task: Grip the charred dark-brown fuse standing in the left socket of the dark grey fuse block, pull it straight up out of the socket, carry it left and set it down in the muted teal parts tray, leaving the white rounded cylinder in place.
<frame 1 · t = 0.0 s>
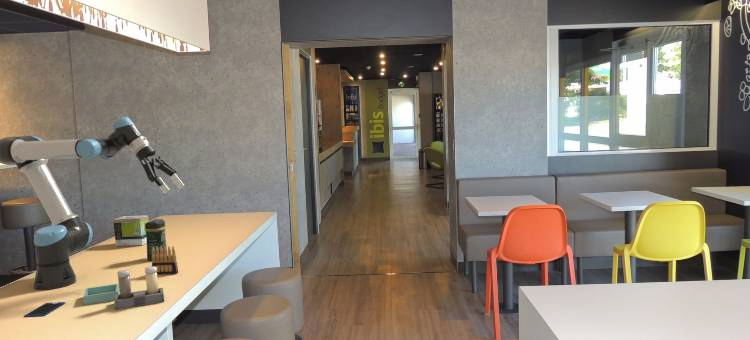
hand: (174, 189, 234), 36 cm above the table, tool tilted 35°, fingers open, 13 cm apart
cell phone: (45, 311, 198), on the table
coffee jar: (157, 258, 266), on the table
ammunition clip: (165, 274, 238), on the table
fuse block: (140, 302, 201), on the table
tea box: (133, 244, 300), on the table
blown fuse: (126, 304, 200), resting in fuse block
white rounded cylinder: (153, 300, 203), resting in fuse block
parts tray: (102, 298, 208), on the table
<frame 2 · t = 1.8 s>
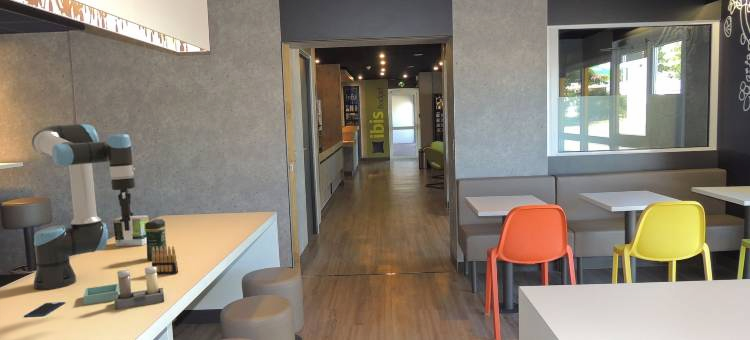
hand: (128, 237, 200), 24 cm above the table, tool pointing down, fingers open, 13 cm apart
nothing on the table moved.
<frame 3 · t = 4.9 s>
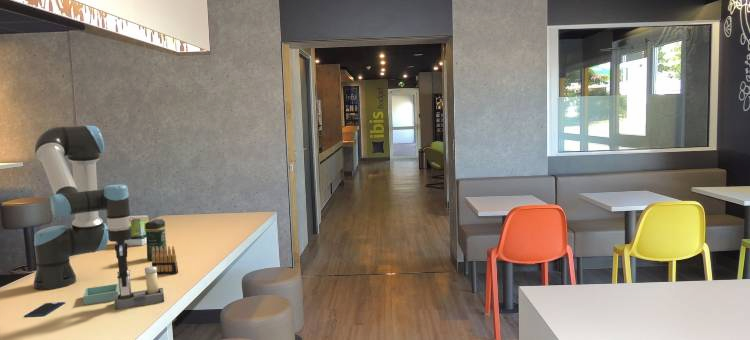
hand: (125, 293, 199), 4 cm above the table, tool pointing down, fingers closed on blown fuse, 4 cm apart
blown fuse: (126, 304, 200), resting in fuse block, touching gripper
everything else where it was.
when the fingers open (6 cm above the table, at t = 10.5 s): blown fuse drops 1 cm, resting on parts tray.
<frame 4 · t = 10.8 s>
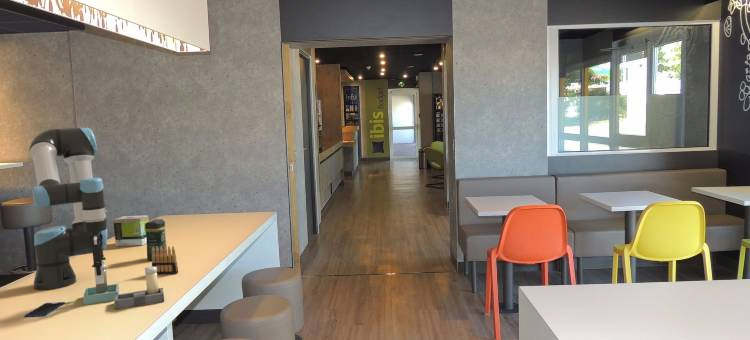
hand: (100, 280, 208), 7 cm above the table, tool pointing down, fingers open, 7 cm apart
blown fuse: (102, 296, 208), point 1 cm above the table, touching parts tray
everything else where it was.
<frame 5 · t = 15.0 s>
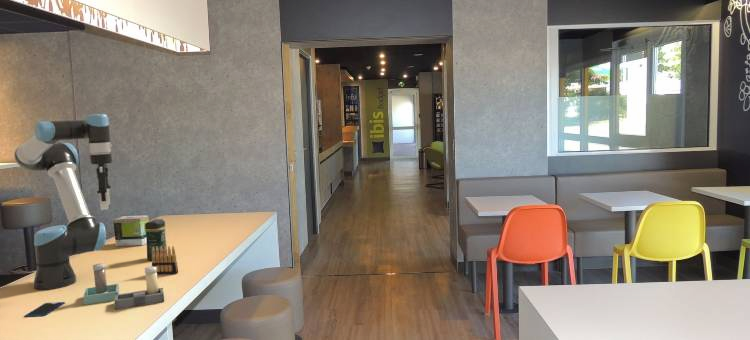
hand: (105, 207, 221), 32 cm above the table, tool pointing down, fingers open, 13 cm apart
nothing on the table moved.
at the end: blown fuse inside the target area on the parts tray (0.0 cm from its centre), point 0.6 cm above the parts tray's base; white rounded cylinder moved 0.0 cm from its start; the gripper is holding nothing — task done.
